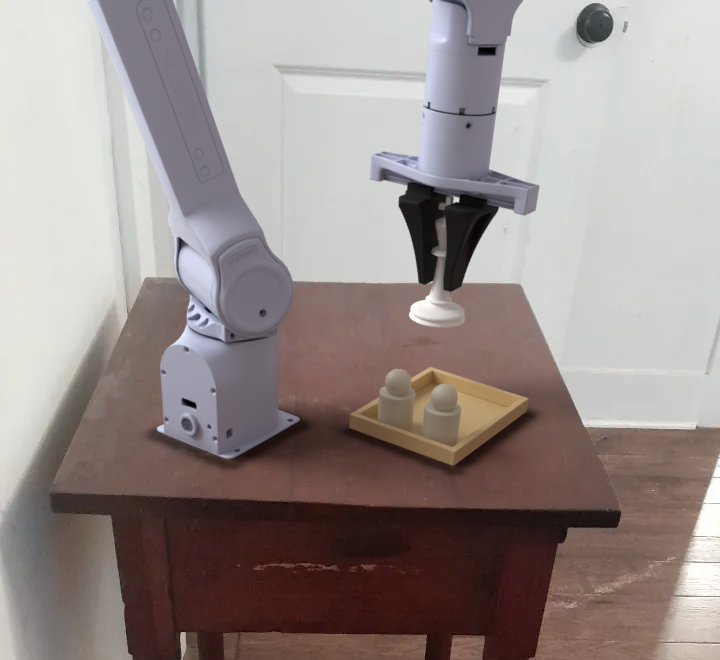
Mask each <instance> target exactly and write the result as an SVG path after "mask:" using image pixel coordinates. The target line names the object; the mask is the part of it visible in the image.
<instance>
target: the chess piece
mask: <svg viewBox="0 0 720 660" xmlns="http://www.w3.org/2000/svg"><path fill="white" fill-rule="evenodd" d="M454 200H455V197H454V196H453V197H452V196H447V197H446V203H443V202H442V203H439V209H441V210H444V209H445V206H447V205H450V204H452V203H454ZM435 227H436V231H437V237H438V242H439V245H438V246H437V247H434V248H433V249H432V251H431V253H432V254H433V255H435V256H438V260H437V265H436V270H435V275H434V279H433V281H432V282H431V283H432V284H431V288H430V292H429V294H427V295H426V296H425V299H423V300H418V301H416V302H414V303H413V304H411V306H410V311H409V313H408V317H409V318H410V320H411V321H413V322H414V323H416V324H418V325H421V326H424V327H430V328H435V329H436V328H438V329H449V328H455V327H458V326H461V325H463V324H464V323H465V321H466V317H465V316H466V311H465V309H464V308H463V306H461V305H459V304H458V303H455V302H453V298H451V297H450V292H449V291H445V290H444V288H443V278H444V269H445V261H446V251H447V235H446V221H445V216H444V217H443V218H439V219H437V220H436V221H435Z"/></svg>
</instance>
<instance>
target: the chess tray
mask: <svg viewBox="0 0 720 660" xmlns="http://www.w3.org/2000/svg"><path fill="white" fill-rule="evenodd" d="M411 381H412V384H411V389H413V390H414V391H415V403H414V413H413V423H412V429H411V431H410V432H408V431H406V430H403V429H400V428H397V427H394V426H392V425H389V424H386V423H383V422H380V421H377V416H378V403H379V396H378V397H377V398H375V399H374V400H372V401H370V402H368V403H366V404H365V405H363V406H362V407H360V408H358V409H357V410H355V411H353V412H351V413H350V414H349V423H348V424H349V429H351V430H354V431H357V432H360V433H362V434H365V435H367V436H370V437H373V438H375V439H378V440H382V441H384V442H387V443H390V444H392V445H395V446H398V447H401V448H403V449H405V450H409V451H411V452H415V453H417V454H420V455H422V456H425V457H427V458H431V459H433V460H436V461H439V462H441V463H444V464H447V465H450V466H455V465H457V464H458V463H459V462H460V461H462V460H463V459H465V458H466V457H467V456H469V455H470V454H471V453H472V452H474V451H475V450H476V449H478V448H479V447H481V446H482V445H483V444H485V443H486V442H487V441H489V440H490V439H492V438H493V437H494V436H495V435H497V434H498V433H499V432H501V431H502V430H503V429H505V428H507V427H508V426H509V425H510V424H512V423H513V422H514V421H516V420H517V419H518V418H520V417H521V416H523V415H524V414H525V413H527V410H528V406H529V400H530V398H529V397H526V396H523V395H519V394H517V393H513V392H511V391H507V390H504V389H502V388H498V387H494V386H491V385H489V384H485V383H482V382H480V381H477V380H473V379H470V378H467V377H464V376H461V375H459V374H458V375H457V374H454V373H451V372H448V371H445V370H442V369H439V368H436V367H433V366H429V367H427V368H426V369H424V370H423V371H421V372H419V373H417V374H416V375H414V376H412V377H411ZM440 384H449V385H451V386H452V387H454V388H455V390H456V392H457V394H458V401H457V404H458V405H459V406H460V407H461V416H460V424H459V431H458V439H457V444H456V445H455V446H454V447H450V446H448V445H445V444H442V443H439V442H436V441H434V440H431V439H428V438H425V437H422V436H421V435H422V425H423V416H424V407H425V404H426V403H427V402H429V401H431V393H432V391H433V389H434V388H435V387H436V386H438V385H440Z"/></svg>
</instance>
